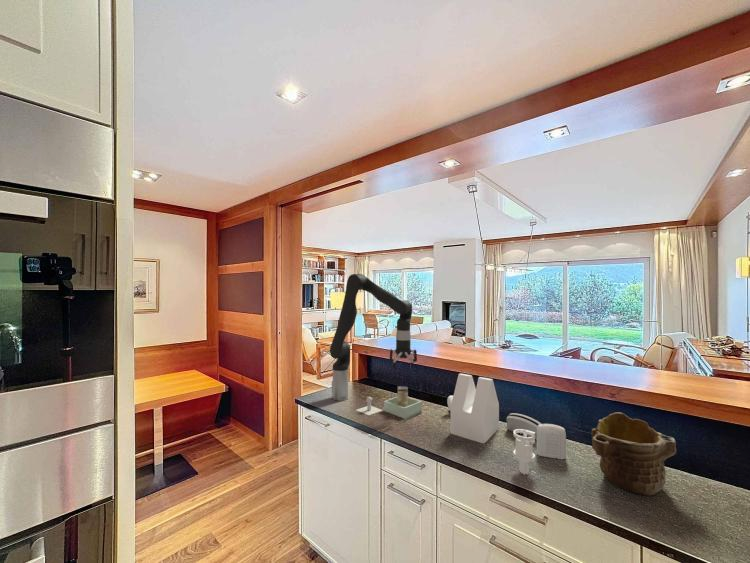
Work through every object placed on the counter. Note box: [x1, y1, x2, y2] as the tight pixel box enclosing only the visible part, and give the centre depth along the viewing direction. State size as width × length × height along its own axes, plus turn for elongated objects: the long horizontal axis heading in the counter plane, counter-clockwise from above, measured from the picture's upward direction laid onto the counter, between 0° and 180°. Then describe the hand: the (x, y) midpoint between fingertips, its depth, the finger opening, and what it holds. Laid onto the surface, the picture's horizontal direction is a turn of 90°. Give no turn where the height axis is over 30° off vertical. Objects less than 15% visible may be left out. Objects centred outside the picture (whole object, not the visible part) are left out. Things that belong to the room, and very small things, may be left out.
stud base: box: [356, 396, 383, 416], centre depth 173 cm, size 10×10×8 cm
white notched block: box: [450, 372, 500, 444], centre depth 151 cm, size 19×15×25 cm
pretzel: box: [446, 395, 454, 412], centre depth 171 cm, size 11×12×9 cm
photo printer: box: [536, 423, 567, 460], centre depth 129 cm, size 10×4×12 cm, turn 73°
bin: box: [383, 395, 423, 421], centre depth 172 cm, size 14×14×6 cm
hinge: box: [506, 412, 542, 439], centre depth 147 cm, size 17×5×10 cm, turn 38°
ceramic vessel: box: [591, 411, 677, 496], centre depth 111 cm, size 23×24×25 cm
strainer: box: [512, 429, 536, 475], centre depth 118 cm, size 7×7×15 cm
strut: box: [397, 385, 409, 407], centre depth 172 cm, size 5×5×12 cm
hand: (403, 369), depth 172 cm, fingers open, 8 cm apart
